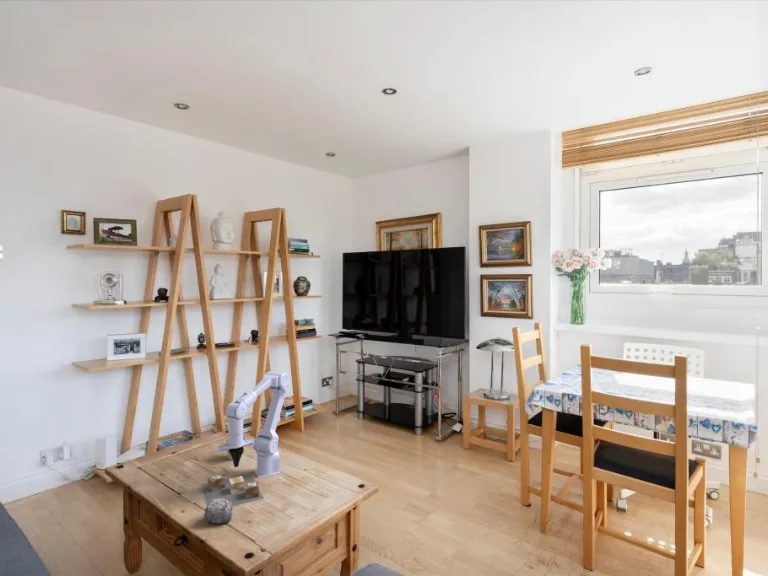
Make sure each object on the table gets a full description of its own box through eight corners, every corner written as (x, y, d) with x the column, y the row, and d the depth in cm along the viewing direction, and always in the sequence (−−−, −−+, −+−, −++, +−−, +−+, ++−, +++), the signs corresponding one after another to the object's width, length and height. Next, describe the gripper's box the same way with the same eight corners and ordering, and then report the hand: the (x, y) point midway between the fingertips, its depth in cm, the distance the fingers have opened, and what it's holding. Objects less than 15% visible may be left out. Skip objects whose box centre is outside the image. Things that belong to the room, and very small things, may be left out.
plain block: (241, 485, 173) (241, 476, 173) (244, 490, 169) (244, 481, 169) (229, 488, 171) (229, 478, 171) (231, 494, 166) (231, 484, 166)
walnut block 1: (219, 483, 175) (219, 473, 175) (224, 487, 172) (224, 477, 171) (207, 487, 172) (207, 477, 172) (212, 491, 168) (212, 481, 168)
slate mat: (250, 474, 184) (250, 473, 184) (263, 499, 163) (263, 498, 163) (201, 485, 174) (201, 484, 174) (208, 513, 154) (208, 512, 154)
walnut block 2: (258, 490, 169) (258, 480, 169) (258, 496, 164) (258, 486, 164) (245, 492, 167) (245, 482, 167) (245, 499, 163) (245, 488, 163)
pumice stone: (238, 523, 151) (220, 508, 156) (243, 504, 150) (225, 489, 155) (213, 537, 143) (196, 521, 147) (218, 517, 141) (200, 501, 146)
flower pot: (241, 462, 196) (241, 443, 196) (221, 461, 196) (221, 443, 196) (248, 453, 206) (247, 436, 205) (228, 453, 206) (228, 436, 206)
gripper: (251, 426, 177) (251, 458, 177) (214, 433, 169) (215, 466, 170) (256, 431, 171) (256, 464, 172) (218, 438, 163) (218, 473, 164)
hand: (236, 466), depth 170 cm, fingers closed
